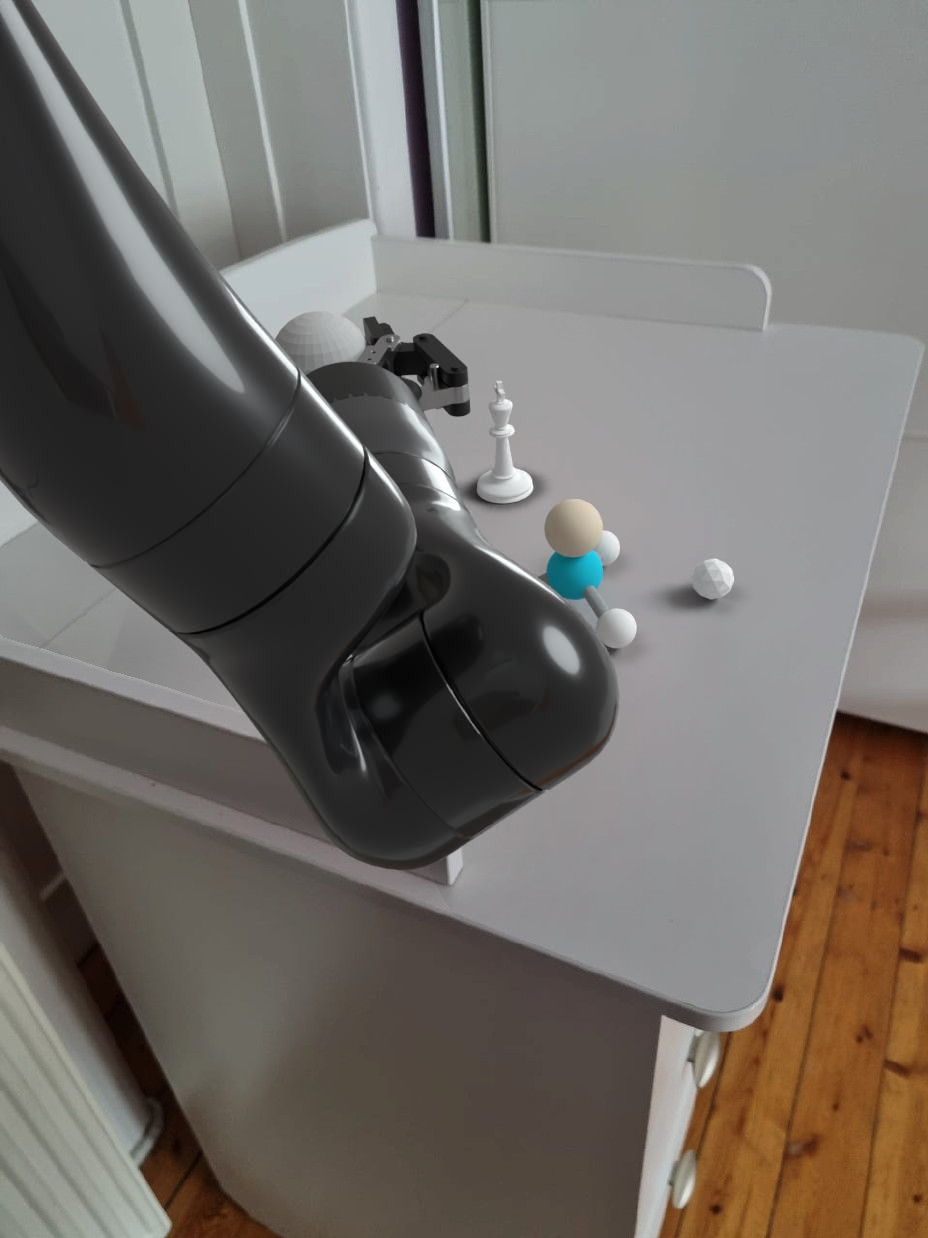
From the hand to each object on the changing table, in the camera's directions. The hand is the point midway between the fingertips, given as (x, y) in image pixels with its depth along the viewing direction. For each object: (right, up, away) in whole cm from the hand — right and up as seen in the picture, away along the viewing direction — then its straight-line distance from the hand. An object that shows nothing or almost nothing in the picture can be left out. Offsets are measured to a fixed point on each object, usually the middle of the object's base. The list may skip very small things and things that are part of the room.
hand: (314, 342), depth 56 cm
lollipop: (+2, -11, +6) cm, 13 cm away
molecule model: (+16, -16, +13) cm, 26 cm away
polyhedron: (+27, -15, +13) cm, 33 cm away
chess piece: (+12, -5, +27) cm, 30 cm away
